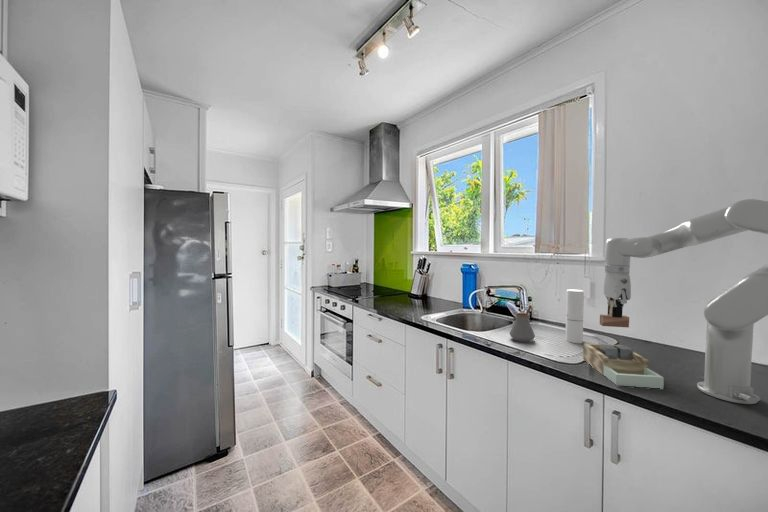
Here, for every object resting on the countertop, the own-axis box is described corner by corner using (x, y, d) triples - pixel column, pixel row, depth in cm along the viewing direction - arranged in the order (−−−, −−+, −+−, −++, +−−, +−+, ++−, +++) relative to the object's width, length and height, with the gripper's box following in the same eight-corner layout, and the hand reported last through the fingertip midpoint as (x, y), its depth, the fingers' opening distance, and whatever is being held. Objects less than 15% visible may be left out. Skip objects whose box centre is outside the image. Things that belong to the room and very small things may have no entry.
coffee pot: (531, 345, 140) (531, 314, 139) (506, 340, 147) (506, 310, 146) (542, 334, 156) (543, 306, 155) (519, 330, 163) (520, 303, 162)
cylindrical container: (577, 338, 149) (578, 289, 148) (585, 343, 142) (587, 291, 140) (562, 338, 149) (563, 289, 148) (570, 343, 142) (571, 291, 141)
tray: (663, 389, 98) (663, 377, 97) (615, 386, 100) (616, 374, 100) (647, 379, 105) (647, 367, 105) (603, 376, 107) (603, 365, 107)
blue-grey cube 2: (617, 359, 110) (617, 348, 110) (605, 358, 111) (605, 348, 111) (611, 355, 114) (611, 345, 114) (599, 354, 115) (599, 344, 114)
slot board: (647, 379, 105) (648, 359, 105) (603, 376, 107) (603, 357, 107) (621, 362, 120) (621, 345, 119) (583, 360, 122) (583, 343, 122)
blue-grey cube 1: (632, 360, 109) (632, 349, 109) (620, 359, 110) (620, 349, 110) (625, 356, 113) (625, 345, 113) (613, 355, 114) (614, 345, 114)
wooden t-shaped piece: (628, 327, 115) (630, 302, 114) (602, 326, 116) (603, 300, 116) (625, 325, 117) (626, 300, 116) (599, 324, 119) (600, 299, 118)
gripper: (641, 272, 107) (638, 322, 108) (616, 267, 122) (614, 311, 124) (618, 271, 108) (615, 321, 109) (595, 267, 124) (593, 310, 125)
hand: (614, 315), depth 116 cm, fingers closed on wooden t-shaped piece, 2 cm apart
